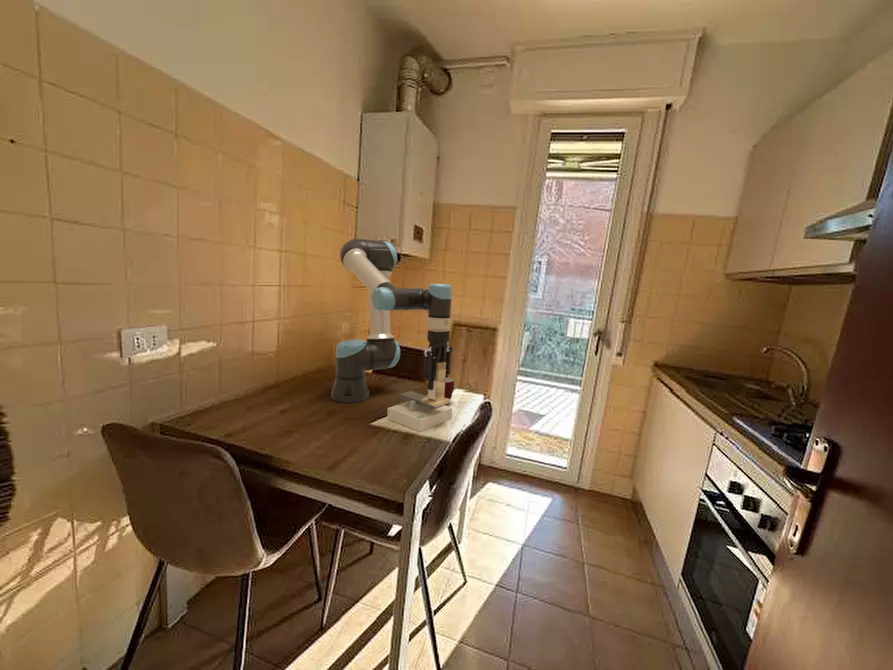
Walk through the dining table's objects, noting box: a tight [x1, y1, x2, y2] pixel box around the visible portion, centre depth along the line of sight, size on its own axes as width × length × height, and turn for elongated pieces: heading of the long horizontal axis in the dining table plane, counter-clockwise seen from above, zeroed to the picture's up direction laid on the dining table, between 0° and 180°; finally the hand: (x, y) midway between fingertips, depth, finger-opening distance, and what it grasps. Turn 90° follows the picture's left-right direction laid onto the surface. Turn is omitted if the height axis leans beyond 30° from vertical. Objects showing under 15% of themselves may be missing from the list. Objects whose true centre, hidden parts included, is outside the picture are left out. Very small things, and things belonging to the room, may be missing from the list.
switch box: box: [386, 394, 453, 433], centre depth 136 cm, size 16×17×8 cm
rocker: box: [398, 390, 443, 410], centre depth 135 cm, size 16×6×2 cm, turn 52°
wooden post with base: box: [422, 361, 451, 407], centre depth 130 cm, size 7×7×14 cm
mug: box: [444, 376, 455, 406], centre depth 152 cm, size 11×8×10 cm
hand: (436, 396), depth 131 cm, fingers closed on wooden post with base, 4 cm apart
